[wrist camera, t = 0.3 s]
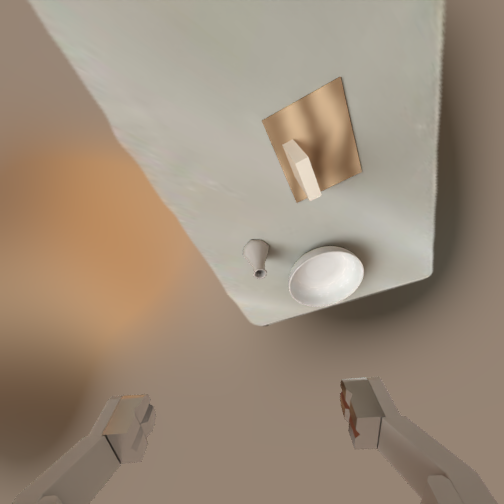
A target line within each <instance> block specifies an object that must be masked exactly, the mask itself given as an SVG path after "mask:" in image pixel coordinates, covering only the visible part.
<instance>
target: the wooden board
mask: <svg viewBox="0 0 504 504" xmlns="http://www.w3.org/2000/svg"><path fill="white" fill-rule="evenodd" d="M262 122H263V125H264V127H265V129H266V132H267V134H268V136H269V139H270V141H271V143H272V146H273V148H274V150H275V153H276V155H277V157H278V160H279V162H280V164H281V167H282V169H283V172H284V174H285V176H286V179H287V181H288V183H289V186H290V188H291V190H292V193H293V195H294V197H295V200H296V202H300V201H302V200H304V199H306V198H308V197H307V196H306V194H305V193H304V191H303V189H302V188H301V186H300V185H299V183H298V181H297V180H296V178H295V176H294V173H293V171H292V168H291V166H290V163H289V161H288V158H287V156H286V153H285V151H284V148H283V146H282V145H283V144H285V143H287V142H288V141H290V140H292V139H293V140H294V141H295V142H296V143H297V145H298V146H299V147H300V148H301V149H302V150H303V151H304V152H305V154H306V155H307V156H308V157H309V160H310V163H311V166H312V169H313V172H314V174H315V177H316V180H317V183H318V186H319V189H320V192H321V191H323V190H325V189H327V188H329V187H331V186H333V185H335V184H337V183H339V182H341V181H344V180H346V179H348V178H350V177H352V176H354V175H356V174H358V173H360V172H362V170H361V166H360V161H359V157H358V153H357V148H356V144H355V139H354V135H353V130H352V126H351V121H350V117H349V112H348V108H347V104H346V99H345V95H344V90H343V86H342V81H341V77H339V78H337V79H335V80H333V81H331V82H330V83H328V84H326V85H324V86H323V87H321V88H319V89H317V90H315V91H314V92H312V93H310V94H308V95H307V96H305V97H303V98H301V99H299V100H298V101H296V102H294V103H292V104H291V105H289V106H287V107H285V108H283V109H282V110H280V111H278V112H276V113H275V114H273V115H271V116H269V117H267V118H266V119H264V120H262Z"/></svg>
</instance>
